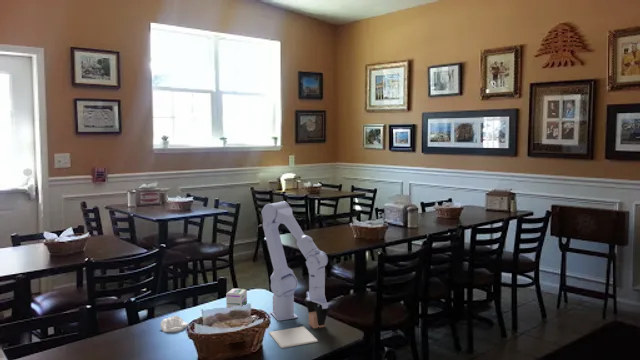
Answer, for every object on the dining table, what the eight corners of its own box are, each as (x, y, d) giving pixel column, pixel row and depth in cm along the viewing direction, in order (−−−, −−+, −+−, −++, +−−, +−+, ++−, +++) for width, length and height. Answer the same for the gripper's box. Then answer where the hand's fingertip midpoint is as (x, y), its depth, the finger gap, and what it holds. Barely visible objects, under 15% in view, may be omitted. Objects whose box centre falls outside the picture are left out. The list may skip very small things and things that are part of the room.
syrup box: (242, 334, 179) (241, 293, 177) (226, 332, 180) (225, 292, 178) (247, 327, 184) (247, 288, 183) (232, 326, 185) (231, 287, 184)
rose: (157, 314, 186) (184, 309, 191) (158, 325, 187) (184, 321, 191) (163, 323, 177) (191, 318, 182) (163, 335, 178) (191, 330, 182)
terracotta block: (308, 324, 188) (308, 312, 188) (320, 322, 190) (320, 310, 189) (313, 328, 184) (313, 316, 183) (324, 326, 186) (324, 314, 185)
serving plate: (269, 333, 179) (269, 331, 179) (303, 327, 184) (303, 326, 184) (281, 348, 167) (281, 346, 167) (317, 341, 172) (317, 340, 172)
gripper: (299, 281, 190) (299, 316, 192) (315, 292, 177) (315, 330, 178) (316, 279, 193) (316, 313, 194) (333, 290, 180) (333, 327, 181)
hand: (316, 321), depth 187 cm, fingers open, 7 cm apart
